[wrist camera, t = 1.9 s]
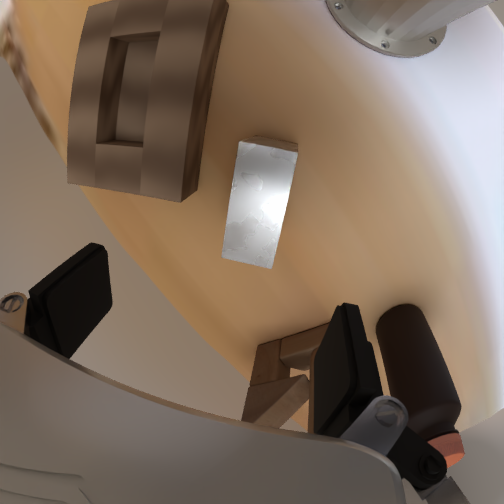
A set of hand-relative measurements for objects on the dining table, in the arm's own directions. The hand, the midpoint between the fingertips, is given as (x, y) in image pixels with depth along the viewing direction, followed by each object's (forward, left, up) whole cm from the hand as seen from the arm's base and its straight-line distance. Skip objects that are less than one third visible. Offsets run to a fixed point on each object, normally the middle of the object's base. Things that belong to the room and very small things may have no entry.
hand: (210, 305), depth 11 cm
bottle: (+13, +20, -19) cm, 30 cm away
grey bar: (0, 0, -19) cm, 19 cm away
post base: (-8, -14, -19) cm, 25 cm away
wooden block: (+19, +8, -19) cm, 28 cm away
